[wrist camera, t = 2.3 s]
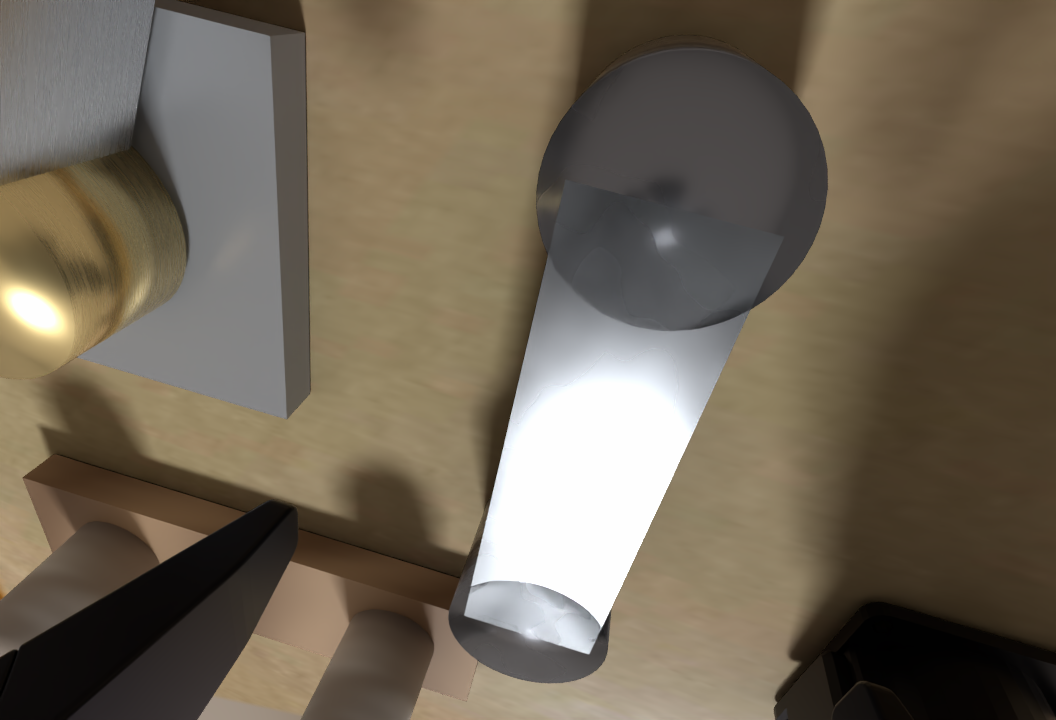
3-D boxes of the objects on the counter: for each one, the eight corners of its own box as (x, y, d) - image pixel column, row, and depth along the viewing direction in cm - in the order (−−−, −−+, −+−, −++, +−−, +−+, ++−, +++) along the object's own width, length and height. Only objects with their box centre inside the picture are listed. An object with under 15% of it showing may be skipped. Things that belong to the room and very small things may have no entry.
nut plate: (305, 32, 11) (269, 36, 10) (310, 393, 16) (286, 419, 15) (-108, -72, 12) (-179, -78, 11) (17, 308, 17) (-23, 327, 16)
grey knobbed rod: (599, 10, 10) (571, 16, 7) (824, 65, 10) (887, 92, 7) (475, 551, 19) (439, 653, 16) (598, 588, 18) (584, 699, 15)
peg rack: (497, 590, 19) (448, 762, 15) (475, 669, 22) (428, 834, 18) (54, 454, 20) (-113, 578, 16) (86, 546, 23) (-49, 673, 19)
